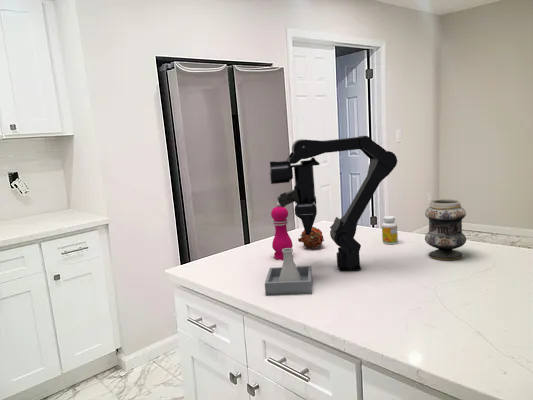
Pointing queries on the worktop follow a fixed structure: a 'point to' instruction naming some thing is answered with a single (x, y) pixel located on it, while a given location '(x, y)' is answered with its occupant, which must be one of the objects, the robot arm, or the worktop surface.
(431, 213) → the apothecary jar
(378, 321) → the worktop surface
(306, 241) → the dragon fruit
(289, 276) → the flask
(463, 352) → the worktop surface
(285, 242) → the pepper mill
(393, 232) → the supplement bottle
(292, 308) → the worktop surface
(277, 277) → the box
